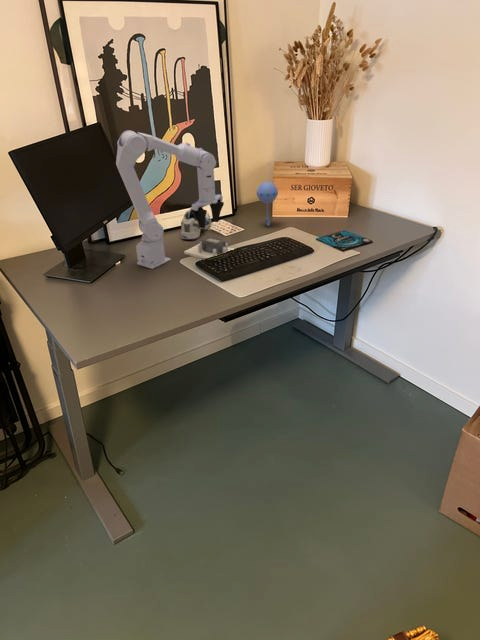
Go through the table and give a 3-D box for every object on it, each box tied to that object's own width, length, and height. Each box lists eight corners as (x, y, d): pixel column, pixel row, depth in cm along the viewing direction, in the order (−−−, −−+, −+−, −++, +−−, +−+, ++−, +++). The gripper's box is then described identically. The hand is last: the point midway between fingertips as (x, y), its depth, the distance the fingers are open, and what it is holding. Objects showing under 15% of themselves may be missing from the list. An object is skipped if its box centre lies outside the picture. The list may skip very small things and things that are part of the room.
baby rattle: (254, 223, 205) (253, 180, 196) (273, 220, 207) (273, 178, 198) (261, 229, 198) (260, 185, 189) (280, 227, 200) (281, 183, 191)
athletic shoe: (214, 221, 209) (205, 194, 203) (205, 241, 189) (196, 213, 183) (192, 226, 211) (183, 200, 205) (181, 247, 191) (171, 219, 186)
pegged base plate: (218, 263, 170) (217, 253, 168) (184, 253, 179) (183, 244, 177) (238, 252, 178) (238, 243, 177) (205, 243, 187) (204, 235, 185)
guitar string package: (342, 250, 175) (316, 238, 186) (342, 253, 176) (315, 241, 187) (372, 240, 182) (345, 229, 193) (372, 244, 182) (344, 233, 193)
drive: (225, 251, 177) (225, 240, 174) (219, 255, 174) (218, 244, 172) (209, 247, 181) (208, 236, 179) (202, 250, 178) (201, 240, 176)
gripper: (201, 193, 162) (204, 232, 169) (228, 183, 172) (230, 220, 179) (186, 190, 166) (189, 228, 173) (213, 181, 176) (215, 217, 183)
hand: (209, 224), depth 176 cm, fingers open, 7 cm apart
